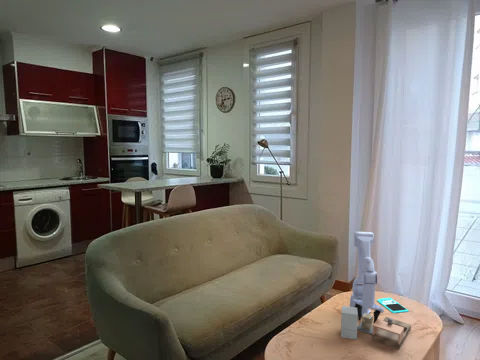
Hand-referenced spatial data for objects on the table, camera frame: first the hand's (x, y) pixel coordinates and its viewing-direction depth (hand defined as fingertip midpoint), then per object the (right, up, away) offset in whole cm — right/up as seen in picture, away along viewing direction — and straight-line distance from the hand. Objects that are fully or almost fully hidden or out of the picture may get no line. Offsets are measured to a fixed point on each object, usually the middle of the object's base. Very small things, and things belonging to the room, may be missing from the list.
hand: (367, 321), depth 168 cm
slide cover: (+6, -3, -10) cm, 12 cm away
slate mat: (0, -4, 0) cm, 4 cm away
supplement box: (-11, -4, -5) cm, 13 cm away
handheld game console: (+23, -2, +24) cm, 34 cm away
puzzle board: (+10, -4, -4) cm, 12 cm away
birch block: (0, -3, 0) cm, 3 cm away
